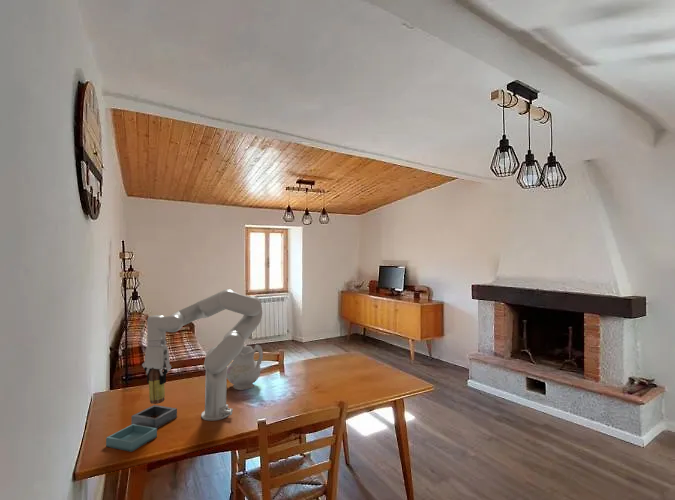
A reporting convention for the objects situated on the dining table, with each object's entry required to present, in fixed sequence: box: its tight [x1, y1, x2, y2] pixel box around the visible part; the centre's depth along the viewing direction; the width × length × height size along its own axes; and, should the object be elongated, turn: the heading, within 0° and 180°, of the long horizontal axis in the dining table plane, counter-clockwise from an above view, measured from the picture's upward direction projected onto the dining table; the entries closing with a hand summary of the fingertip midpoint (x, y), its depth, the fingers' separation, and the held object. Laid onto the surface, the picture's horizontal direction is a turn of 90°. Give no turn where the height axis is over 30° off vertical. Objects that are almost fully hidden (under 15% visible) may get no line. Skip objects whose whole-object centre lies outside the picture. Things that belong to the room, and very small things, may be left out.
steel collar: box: [130, 404, 178, 429], centre depth 169 cm, size 13×13×4 cm
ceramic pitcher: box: [227, 344, 264, 391], centre depth 216 cm, size 22×20×25 cm
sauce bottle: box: [148, 368, 166, 405], centre depth 169 cm, size 6×6×20 cm
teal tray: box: [105, 424, 158, 453], centre depth 150 cm, size 13×13×4 cm
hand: (156, 382), depth 169 cm, fingers closed on sauce bottle, 6 cm apart
